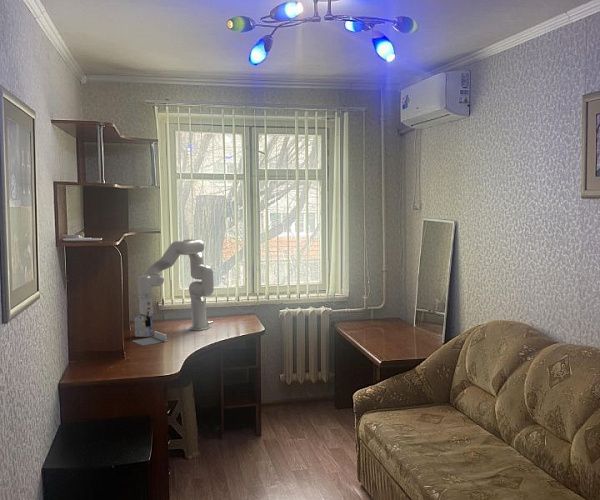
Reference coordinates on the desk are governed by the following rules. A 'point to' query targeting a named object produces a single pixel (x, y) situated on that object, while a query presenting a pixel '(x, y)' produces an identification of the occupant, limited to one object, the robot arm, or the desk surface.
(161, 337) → the plate
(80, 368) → the desk surface
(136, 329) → the ink cartridge box
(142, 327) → the birch cylinder
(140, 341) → the board
